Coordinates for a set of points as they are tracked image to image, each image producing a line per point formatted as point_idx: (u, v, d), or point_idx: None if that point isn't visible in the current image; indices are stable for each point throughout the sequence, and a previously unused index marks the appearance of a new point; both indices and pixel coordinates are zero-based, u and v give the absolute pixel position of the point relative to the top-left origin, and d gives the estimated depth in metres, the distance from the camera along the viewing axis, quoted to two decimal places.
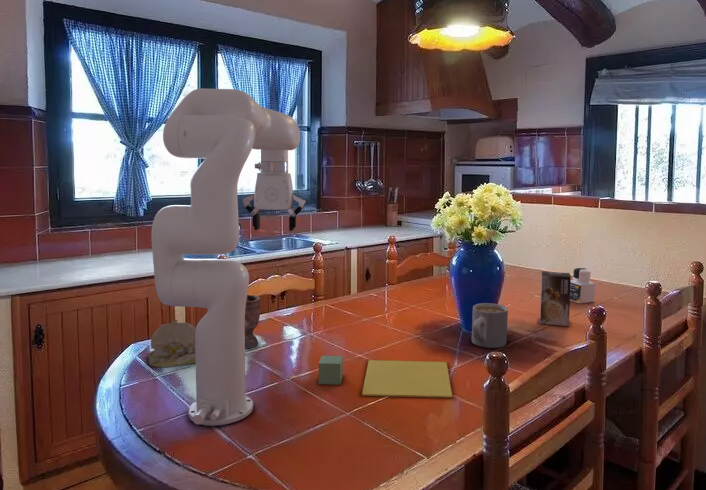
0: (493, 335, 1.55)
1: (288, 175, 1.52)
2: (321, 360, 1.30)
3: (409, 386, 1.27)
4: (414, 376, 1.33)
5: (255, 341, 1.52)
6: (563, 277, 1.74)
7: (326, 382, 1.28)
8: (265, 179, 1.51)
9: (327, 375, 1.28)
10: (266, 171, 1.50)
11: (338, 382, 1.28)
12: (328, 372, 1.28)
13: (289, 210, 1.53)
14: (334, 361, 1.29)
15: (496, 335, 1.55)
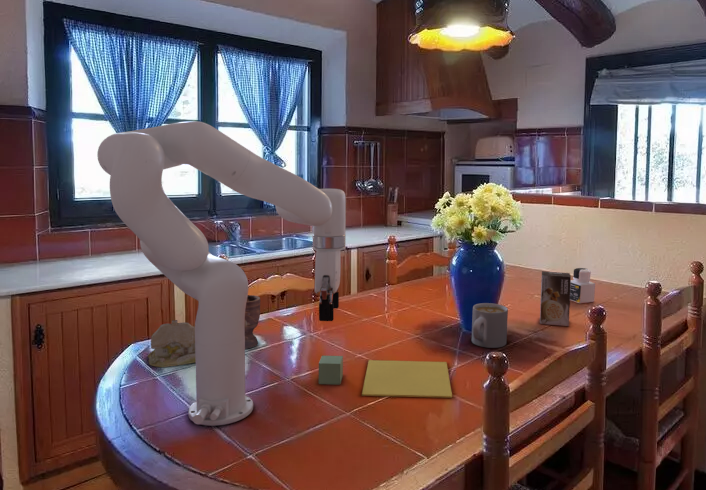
0: (493, 335, 1.55)
1: (319, 253, 1.24)
2: (321, 360, 1.30)
3: (409, 386, 1.27)
4: (414, 376, 1.33)
5: (255, 341, 1.52)
6: (563, 277, 1.74)
7: (326, 382, 1.28)
8: None
9: (327, 375, 1.28)
10: None
11: (338, 382, 1.28)
12: (328, 372, 1.28)
13: (320, 295, 1.25)
14: (334, 361, 1.29)
15: (496, 335, 1.55)
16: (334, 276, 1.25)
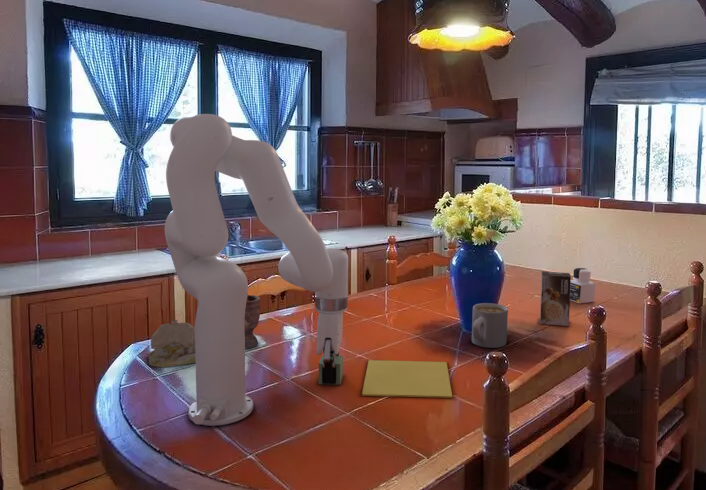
0: (493, 335, 1.55)
1: (321, 315, 1.25)
2: (321, 360, 1.30)
3: (409, 386, 1.27)
4: (414, 376, 1.33)
5: (255, 341, 1.52)
6: (563, 277, 1.74)
7: None
8: None
9: None
10: None
11: (338, 382, 1.28)
12: None
13: None
14: None
15: (496, 335, 1.55)
16: (336, 338, 1.25)
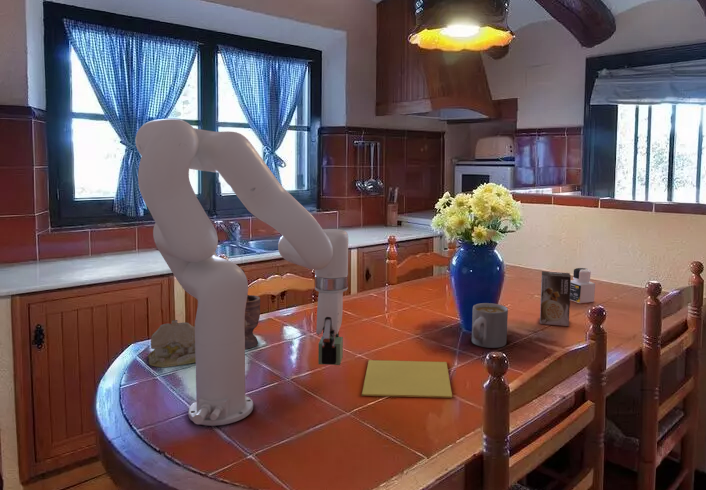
0: (493, 335, 1.55)
1: (321, 295, 1.24)
2: (321, 340, 1.29)
3: (409, 386, 1.27)
4: (414, 376, 1.33)
5: (255, 341, 1.52)
6: (563, 277, 1.74)
7: None
8: None
9: None
10: None
11: (338, 362, 1.28)
12: None
13: None
14: None
15: (496, 335, 1.55)
16: (336, 318, 1.24)
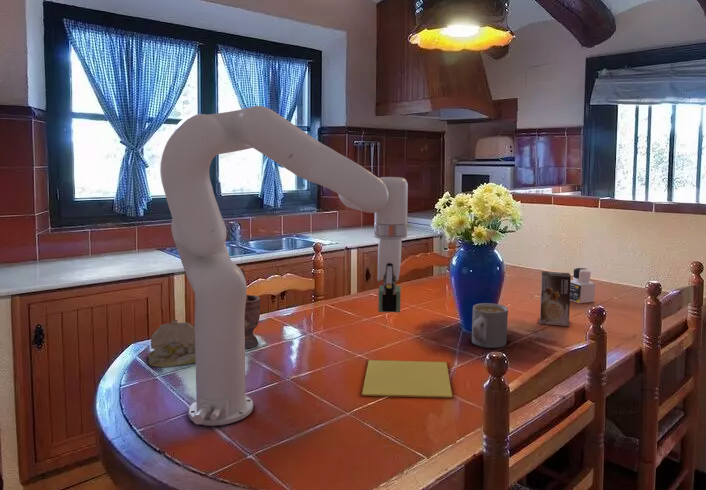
0: (493, 335, 1.55)
1: (382, 241, 1.24)
2: (380, 289, 1.29)
3: (409, 386, 1.27)
4: (414, 376, 1.33)
5: (255, 341, 1.52)
6: (563, 277, 1.74)
7: None
8: None
9: None
10: None
11: (398, 310, 1.28)
12: None
13: None
14: None
15: (496, 335, 1.55)
16: (397, 264, 1.24)
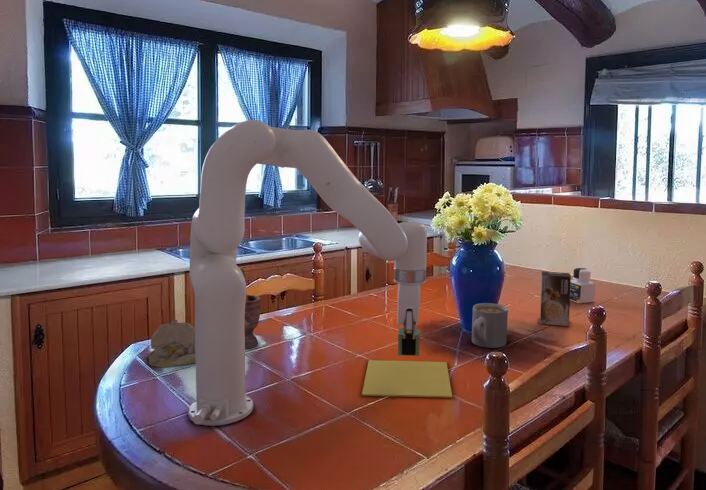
0: (493, 335, 1.55)
1: (402, 287, 1.26)
2: (400, 332, 1.31)
3: (409, 386, 1.27)
4: (414, 376, 1.33)
5: (255, 341, 1.52)
6: (563, 277, 1.74)
7: None
8: None
9: None
10: None
11: (417, 353, 1.30)
12: None
13: (403, 329, 1.29)
14: None
15: (496, 335, 1.55)
16: (417, 309, 1.26)
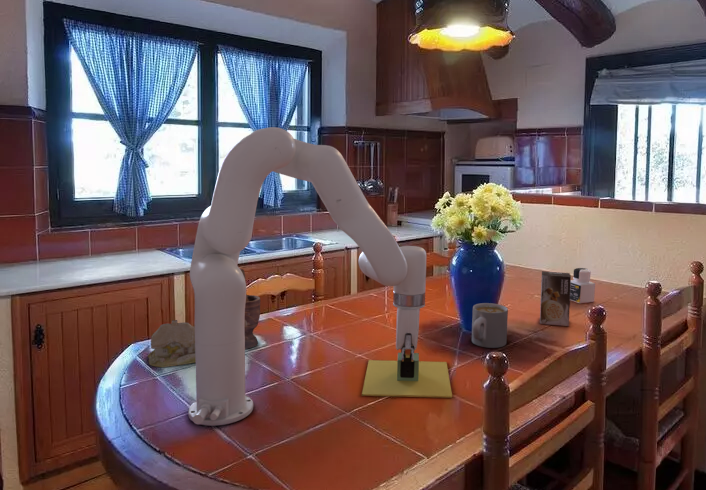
0: (493, 335, 1.55)
1: (401, 311, 1.27)
2: (399, 357, 1.32)
3: (409, 386, 1.27)
4: None
5: (255, 341, 1.52)
6: (563, 277, 1.74)
7: (404, 379, 1.30)
8: None
9: None
10: None
11: (416, 379, 1.30)
12: None
13: (401, 352, 1.28)
14: None
15: (496, 335, 1.55)
16: (416, 334, 1.27)
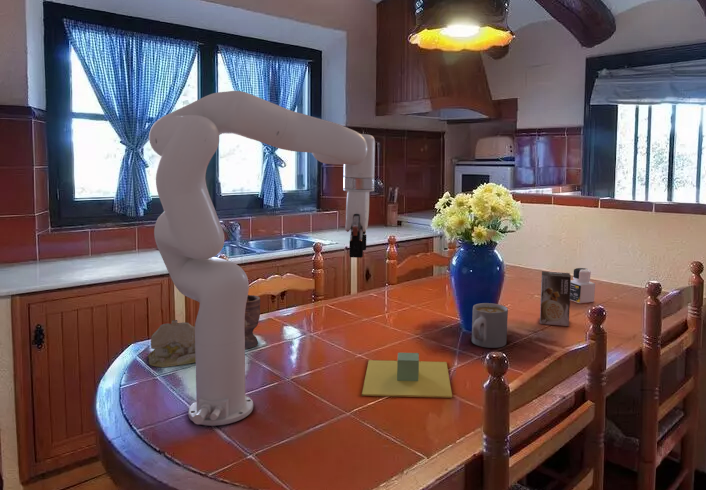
0: (493, 335, 1.55)
1: (350, 193, 1.33)
2: (399, 357, 1.32)
3: (409, 386, 1.27)
4: None
5: (255, 341, 1.52)
6: (563, 277, 1.74)
7: (404, 379, 1.30)
8: None
9: (406, 372, 1.30)
10: None
11: (416, 379, 1.30)
12: (406, 368, 1.30)
13: None
14: (412, 358, 1.31)
15: (496, 335, 1.55)
16: (364, 215, 1.33)
